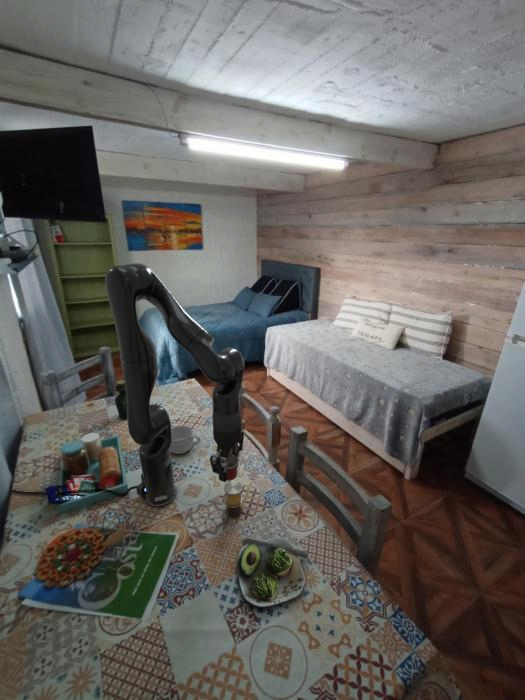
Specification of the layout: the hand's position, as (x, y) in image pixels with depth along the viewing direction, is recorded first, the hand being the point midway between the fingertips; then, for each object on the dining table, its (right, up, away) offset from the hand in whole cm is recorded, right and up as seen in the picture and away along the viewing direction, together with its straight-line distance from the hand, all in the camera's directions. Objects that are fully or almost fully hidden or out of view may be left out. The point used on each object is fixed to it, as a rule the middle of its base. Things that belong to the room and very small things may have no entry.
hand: (228, 473), depth 89 cm
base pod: (0, -16, +11) cm, 20 cm away
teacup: (-22, -6, +38) cm, 45 cm away
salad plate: (+11, -23, -6) cm, 27 cm away
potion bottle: (-55, +3, +61) cm, 82 cm away
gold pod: (+1, -12, +9) cm, 15 cm away
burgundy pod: (0, 0, 0) cm, 0 cm away
